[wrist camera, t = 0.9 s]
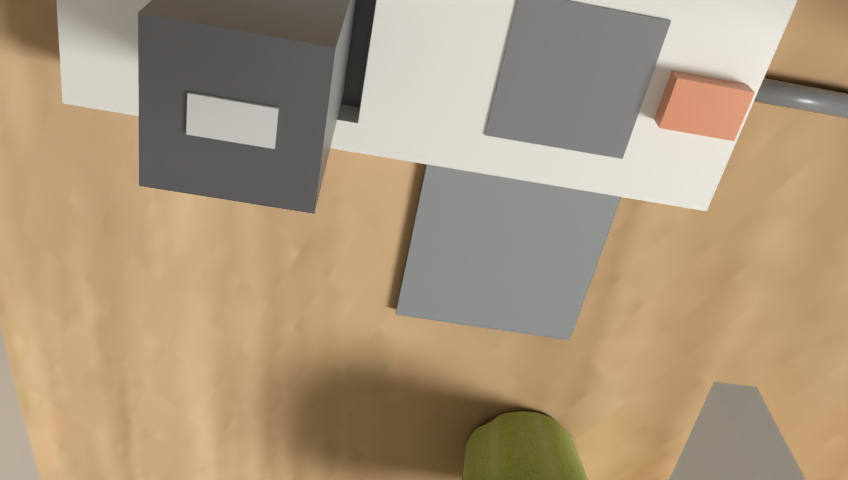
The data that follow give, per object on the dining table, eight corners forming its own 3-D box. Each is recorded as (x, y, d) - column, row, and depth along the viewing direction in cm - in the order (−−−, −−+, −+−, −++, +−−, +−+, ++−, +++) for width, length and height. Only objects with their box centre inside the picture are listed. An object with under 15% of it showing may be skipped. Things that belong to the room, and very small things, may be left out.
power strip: (86, -164, 28) (36, -152, 25) (916, 1, 32) (980, 34, 28) (95, 71, 33) (54, 111, 29) (817, 195, 36) (861, 245, 33)
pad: (429, 150, 35) (429, 154, 35) (623, 183, 36) (624, 187, 36) (396, 309, 40) (395, 314, 39) (568, 335, 41) (569, 340, 40)
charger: (224, -66, 28) (136, 13, 20) (362, -40, 29) (335, 49, 20) (218, 66, 31) (138, 187, 22) (344, 88, 31) (314, 215, 23)
